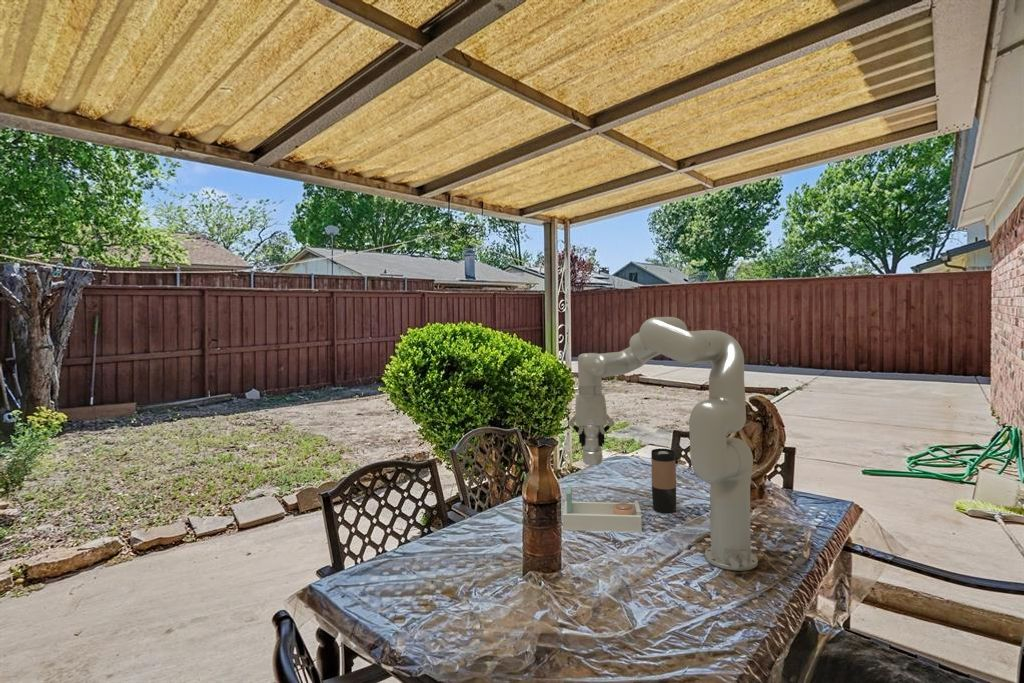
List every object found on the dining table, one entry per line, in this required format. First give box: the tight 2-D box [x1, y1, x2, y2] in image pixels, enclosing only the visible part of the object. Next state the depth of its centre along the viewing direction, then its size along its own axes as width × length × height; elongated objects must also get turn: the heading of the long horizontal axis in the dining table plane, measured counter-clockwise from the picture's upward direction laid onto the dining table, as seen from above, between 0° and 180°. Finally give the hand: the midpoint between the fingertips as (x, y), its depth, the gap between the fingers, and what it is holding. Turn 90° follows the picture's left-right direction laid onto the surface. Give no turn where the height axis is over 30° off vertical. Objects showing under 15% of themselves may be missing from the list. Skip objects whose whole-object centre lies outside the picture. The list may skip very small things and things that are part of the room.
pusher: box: [566, 484, 573, 514], centre depth 162 cm, size 9×1×10 cm, turn 171°
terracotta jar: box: [614, 502, 634, 515], centre depth 160 cm, size 6×6×6 cm
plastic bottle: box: [581, 419, 604, 466], centre depth 172 cm, size 6×7×20 cm
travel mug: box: [650, 448, 677, 515], centre depth 170 cm, size 8×8×20 cm
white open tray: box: [562, 500, 643, 533], centre depth 161 cm, size 12×23×6 cm, turn 81°
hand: (591, 445), depth 172 cm, fingers closed on plastic bottle, 5 cm apart
